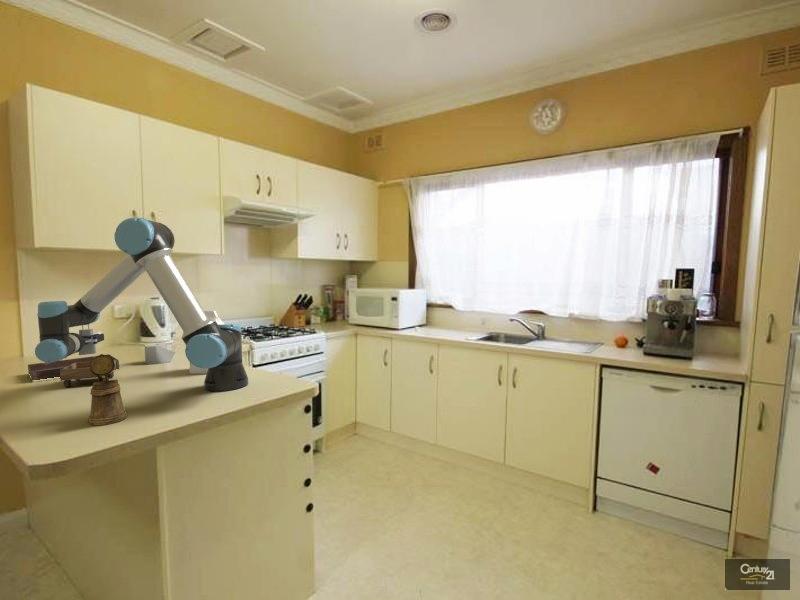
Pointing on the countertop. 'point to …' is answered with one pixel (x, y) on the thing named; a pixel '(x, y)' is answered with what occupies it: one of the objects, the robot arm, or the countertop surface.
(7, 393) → the countertop surface
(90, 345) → the power adapter
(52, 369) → the brown wooden tray
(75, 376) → the cart
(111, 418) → the brown bell-shaped piece
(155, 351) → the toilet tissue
